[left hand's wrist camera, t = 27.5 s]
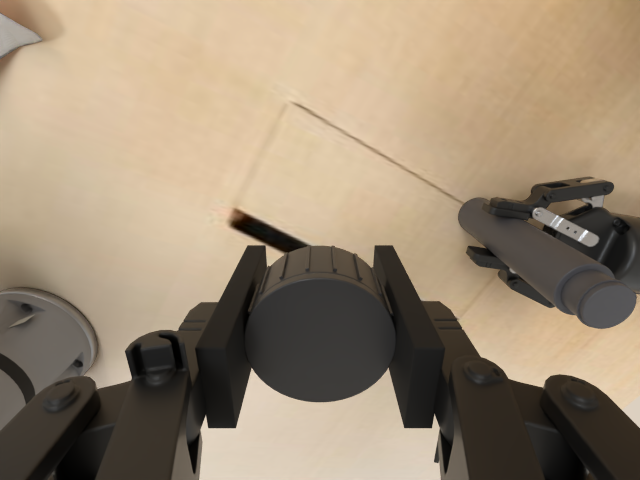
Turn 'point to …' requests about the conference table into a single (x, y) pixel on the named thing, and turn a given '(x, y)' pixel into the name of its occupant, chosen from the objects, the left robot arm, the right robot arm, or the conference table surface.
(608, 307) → the bottle
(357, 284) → the lid
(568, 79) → the conference table surface
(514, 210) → the right robot arm
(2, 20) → the fish
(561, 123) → the conference table surface
